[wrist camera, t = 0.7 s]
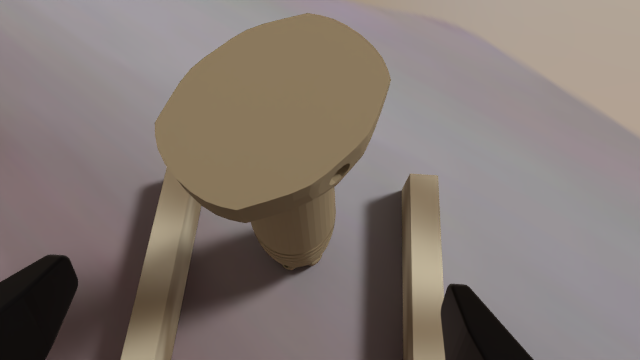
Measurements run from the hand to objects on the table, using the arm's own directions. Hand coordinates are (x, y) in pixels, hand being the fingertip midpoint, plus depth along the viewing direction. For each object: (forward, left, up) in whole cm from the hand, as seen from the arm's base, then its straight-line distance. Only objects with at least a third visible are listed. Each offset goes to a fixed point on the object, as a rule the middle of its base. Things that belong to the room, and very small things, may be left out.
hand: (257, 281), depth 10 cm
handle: (+5, 0, -14) cm, 15 cm away
